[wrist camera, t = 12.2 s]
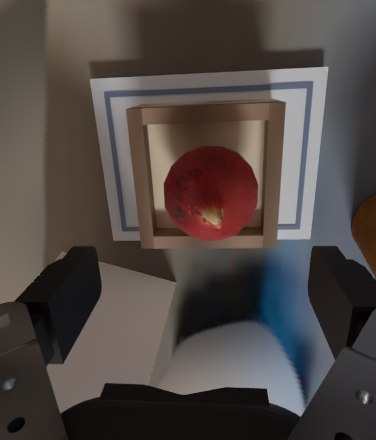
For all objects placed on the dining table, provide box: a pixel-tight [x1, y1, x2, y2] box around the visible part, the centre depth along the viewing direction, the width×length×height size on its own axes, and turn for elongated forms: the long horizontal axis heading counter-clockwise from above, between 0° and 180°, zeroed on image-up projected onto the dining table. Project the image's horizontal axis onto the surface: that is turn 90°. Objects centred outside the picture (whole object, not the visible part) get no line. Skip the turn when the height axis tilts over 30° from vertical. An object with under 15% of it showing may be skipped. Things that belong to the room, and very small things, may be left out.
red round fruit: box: [164, 146, 258, 241], centre depth 20 cm, size 6×6×8 cm
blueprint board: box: [90, 67, 328, 241], centre depth 28 cm, size 18×14×1 cm
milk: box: [46, 251, 176, 413], centre depth 24 cm, size 12×12×26 cm
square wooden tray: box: [126, 98, 286, 249], centre depth 25 cm, size 10×10×6 cm
